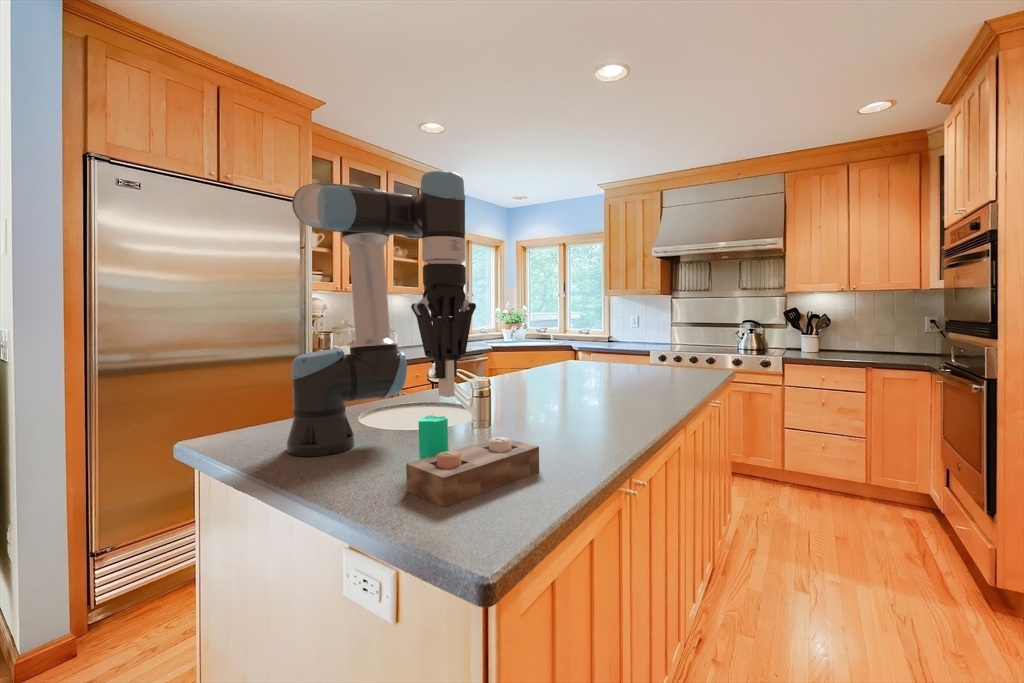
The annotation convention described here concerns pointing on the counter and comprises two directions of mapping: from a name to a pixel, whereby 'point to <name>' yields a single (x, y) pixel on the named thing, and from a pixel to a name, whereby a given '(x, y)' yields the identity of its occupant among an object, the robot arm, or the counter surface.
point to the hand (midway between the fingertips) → (446, 395)
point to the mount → (471, 472)
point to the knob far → (500, 444)
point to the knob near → (448, 459)
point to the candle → (432, 436)
